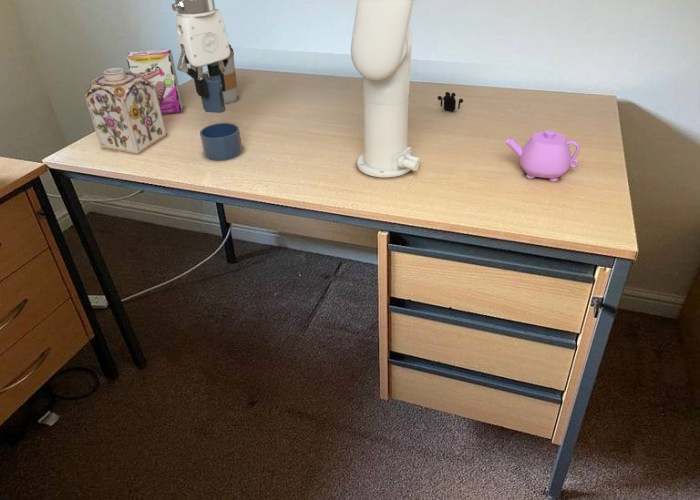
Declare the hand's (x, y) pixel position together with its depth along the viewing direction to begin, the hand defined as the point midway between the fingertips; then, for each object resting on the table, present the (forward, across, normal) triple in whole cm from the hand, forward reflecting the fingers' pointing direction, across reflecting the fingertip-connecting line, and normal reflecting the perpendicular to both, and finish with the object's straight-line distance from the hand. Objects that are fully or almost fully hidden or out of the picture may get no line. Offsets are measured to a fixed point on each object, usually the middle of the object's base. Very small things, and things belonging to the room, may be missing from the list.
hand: (211, 92), depth 121 cm
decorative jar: (+15, -10, +23) cm, 29 cm away
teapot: (+14, +35, -63) cm, 74 cm away
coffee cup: (+15, +23, +28) cm, 39 cm away
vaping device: (+4, 0, 0) cm, 4 cm away
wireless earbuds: (+14, +53, -29) cm, 62 cm away
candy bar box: (+15, +6, +35) cm, 38 cm away
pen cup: (+14, 0, 0) cm, 14 cm away
